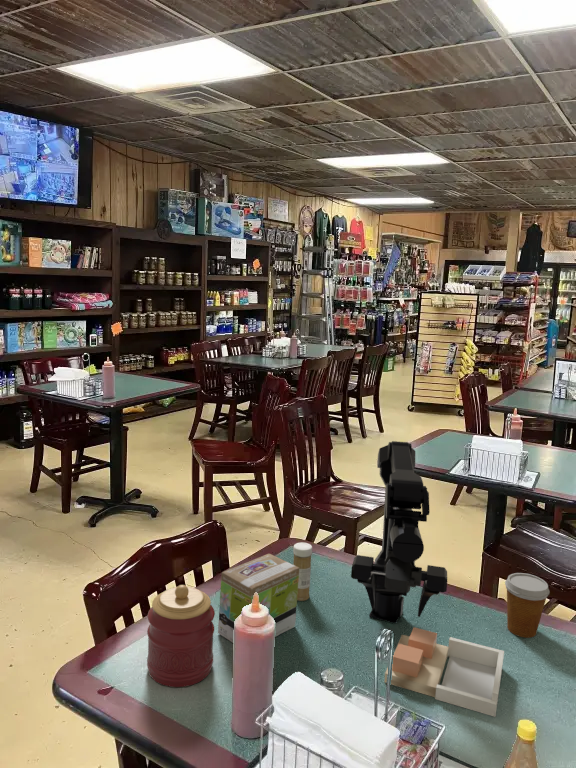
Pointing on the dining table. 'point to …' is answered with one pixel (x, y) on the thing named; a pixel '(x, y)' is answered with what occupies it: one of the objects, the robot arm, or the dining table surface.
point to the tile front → (407, 660)
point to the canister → (180, 637)
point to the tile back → (423, 641)
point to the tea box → (259, 592)
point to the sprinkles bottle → (303, 568)
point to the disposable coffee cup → (525, 603)
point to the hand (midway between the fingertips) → (395, 612)
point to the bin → (472, 676)
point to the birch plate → (422, 672)
